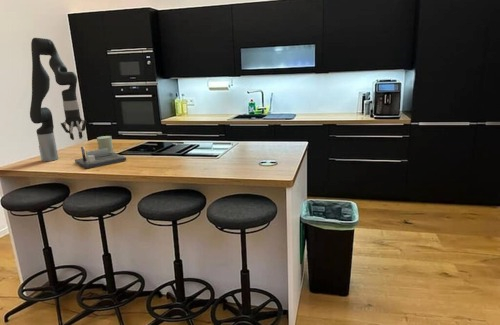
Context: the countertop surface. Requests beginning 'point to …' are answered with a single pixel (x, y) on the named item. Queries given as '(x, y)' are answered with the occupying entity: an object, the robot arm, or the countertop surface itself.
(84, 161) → the grey holder base
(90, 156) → the fader
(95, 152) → the rack door
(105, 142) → the can
